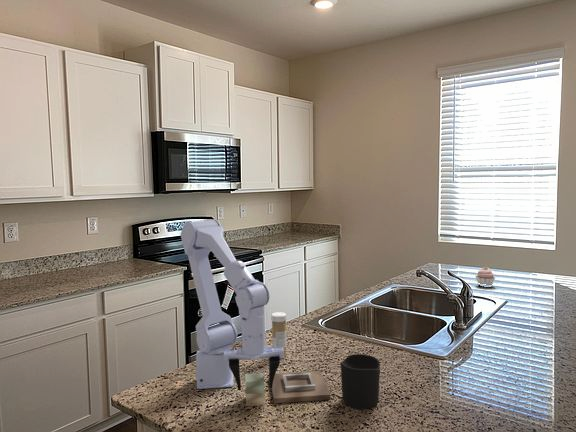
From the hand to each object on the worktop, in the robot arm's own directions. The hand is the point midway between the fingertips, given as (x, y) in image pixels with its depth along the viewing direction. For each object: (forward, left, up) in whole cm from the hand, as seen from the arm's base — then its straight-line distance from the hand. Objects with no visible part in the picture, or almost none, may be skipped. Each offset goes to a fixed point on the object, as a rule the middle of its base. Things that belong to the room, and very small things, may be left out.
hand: (255, 387), depth 111 cm
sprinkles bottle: (+8, +27, -4) cm, 29 cm away
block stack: (0, 0, -4) cm, 4 cm away
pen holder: (+25, -4, -4) cm, 26 cm away
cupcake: (+117, +100, -4) cm, 154 cm away
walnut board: (+11, +5, -3) cm, 13 cm away
